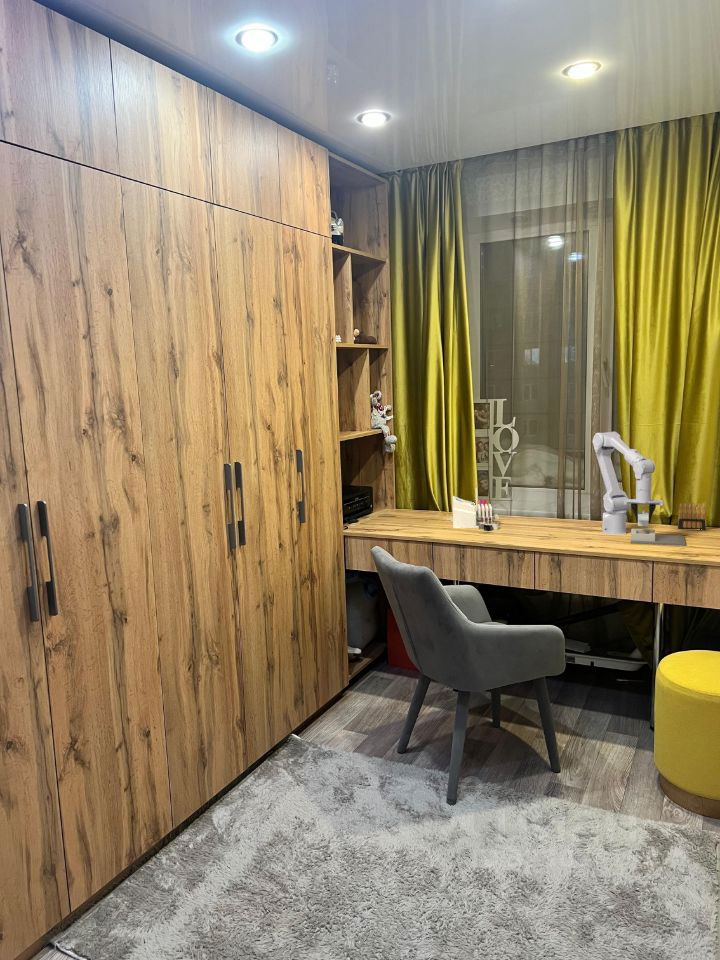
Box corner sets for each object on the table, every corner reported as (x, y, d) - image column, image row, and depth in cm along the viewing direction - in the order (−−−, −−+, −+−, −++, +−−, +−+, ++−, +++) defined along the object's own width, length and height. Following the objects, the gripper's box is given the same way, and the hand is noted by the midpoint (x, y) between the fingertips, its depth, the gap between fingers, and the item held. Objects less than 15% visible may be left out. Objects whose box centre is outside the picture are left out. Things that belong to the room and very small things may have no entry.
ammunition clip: (678, 530, 298) (678, 502, 296) (677, 529, 300) (678, 502, 298) (705, 531, 294) (706, 503, 292) (705, 530, 296) (706, 502, 294)
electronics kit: (506, 532, 308) (505, 497, 305) (448, 534, 310) (447, 499, 308) (496, 513, 352) (496, 482, 350) (445, 514, 355) (445, 484, 352)
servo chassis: (630, 544, 277) (630, 535, 276) (631, 535, 291) (631, 527, 291) (685, 546, 269) (685, 538, 269) (683, 537, 284) (683, 529, 283)
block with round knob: (637, 527, 277) (637, 513, 277) (637, 521, 287) (638, 509, 286) (648, 527, 276) (648, 514, 275) (648, 522, 285) (648, 509, 285)
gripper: (624, 490, 278) (623, 523, 280) (663, 491, 273) (662, 524, 275) (624, 487, 285) (624, 520, 287) (662, 488, 279) (662, 521, 281)
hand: (643, 522), depth 281 cm, fingers closed on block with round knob, 4 cm apart
